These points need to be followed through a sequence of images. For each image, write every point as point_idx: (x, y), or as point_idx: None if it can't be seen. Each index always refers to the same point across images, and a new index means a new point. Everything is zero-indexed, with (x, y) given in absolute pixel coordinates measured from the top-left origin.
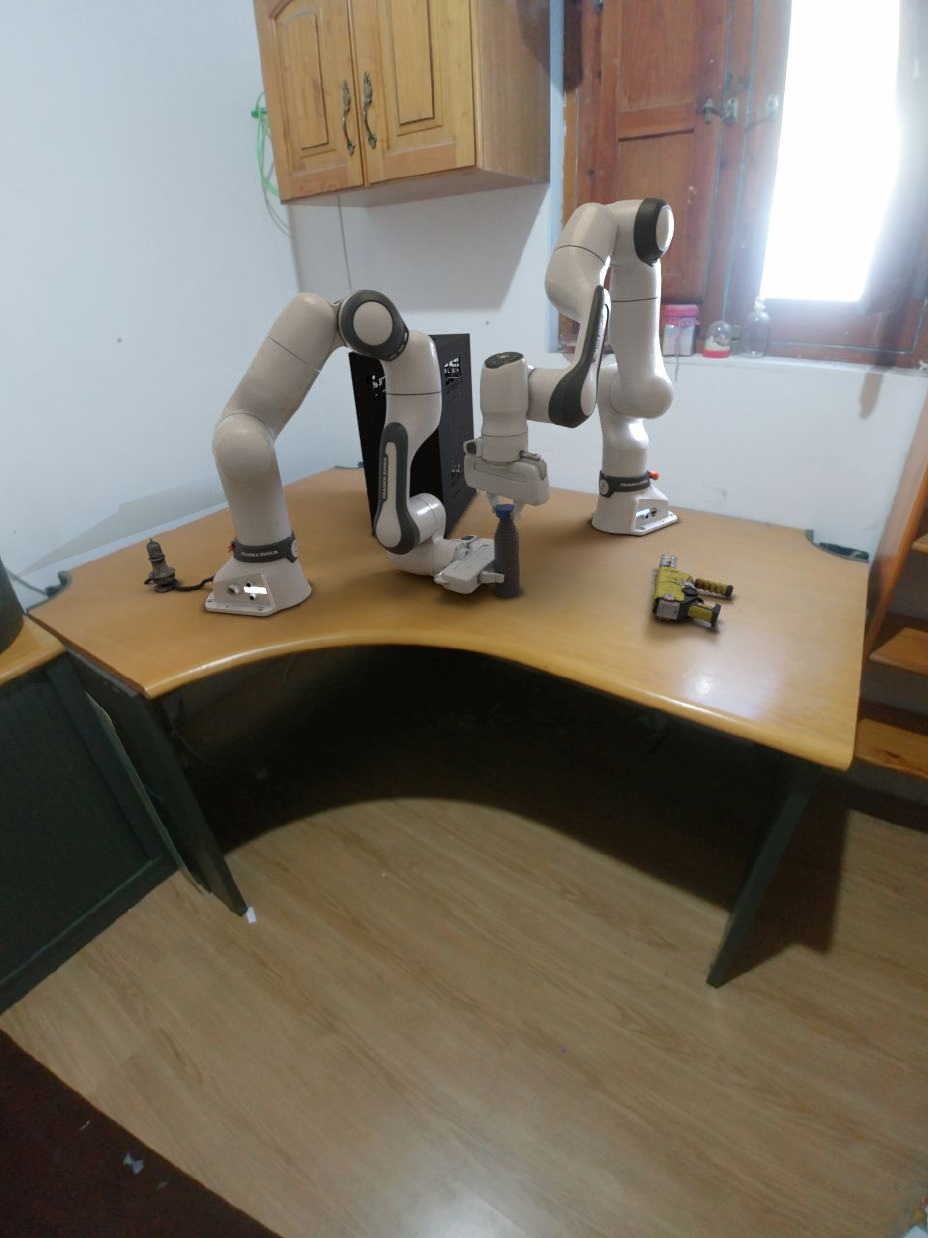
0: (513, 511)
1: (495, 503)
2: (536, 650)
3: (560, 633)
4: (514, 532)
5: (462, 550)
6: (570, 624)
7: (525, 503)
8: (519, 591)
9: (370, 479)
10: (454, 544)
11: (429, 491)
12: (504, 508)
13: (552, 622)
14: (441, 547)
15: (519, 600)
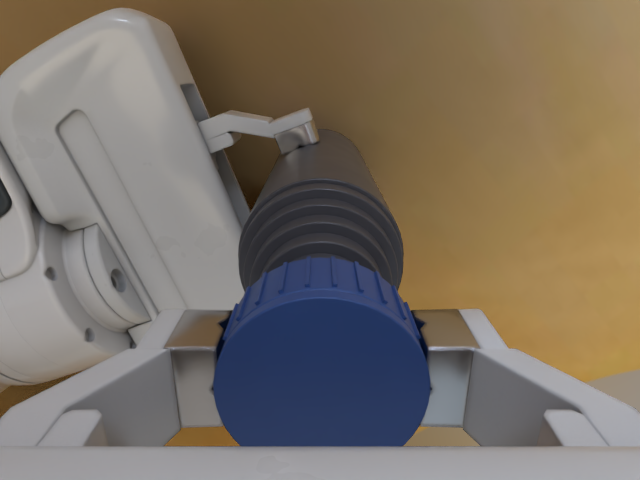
0: (482, 439)
1: (162, 407)
2: (612, 356)
3: (627, 254)
4: (395, 274)
5: (100, 298)
6: (630, 194)
7: (632, 412)
8: (357, 149)
9: None
10: (54, 330)
11: None
12: (336, 425)
13: (573, 223)
14: (30, 367)
15: (394, 189)
